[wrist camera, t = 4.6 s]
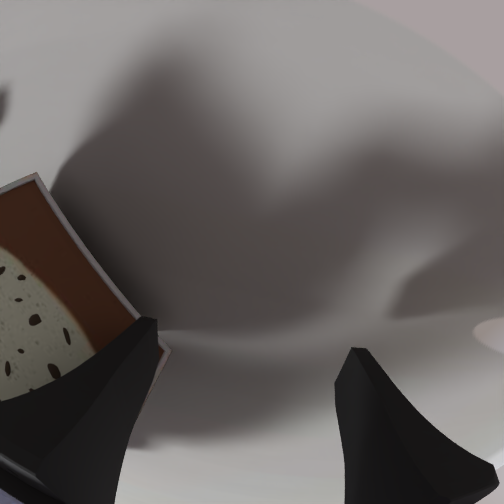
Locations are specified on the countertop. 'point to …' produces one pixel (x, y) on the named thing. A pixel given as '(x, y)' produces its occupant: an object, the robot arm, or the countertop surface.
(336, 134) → the countertop surface
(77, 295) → the food container
